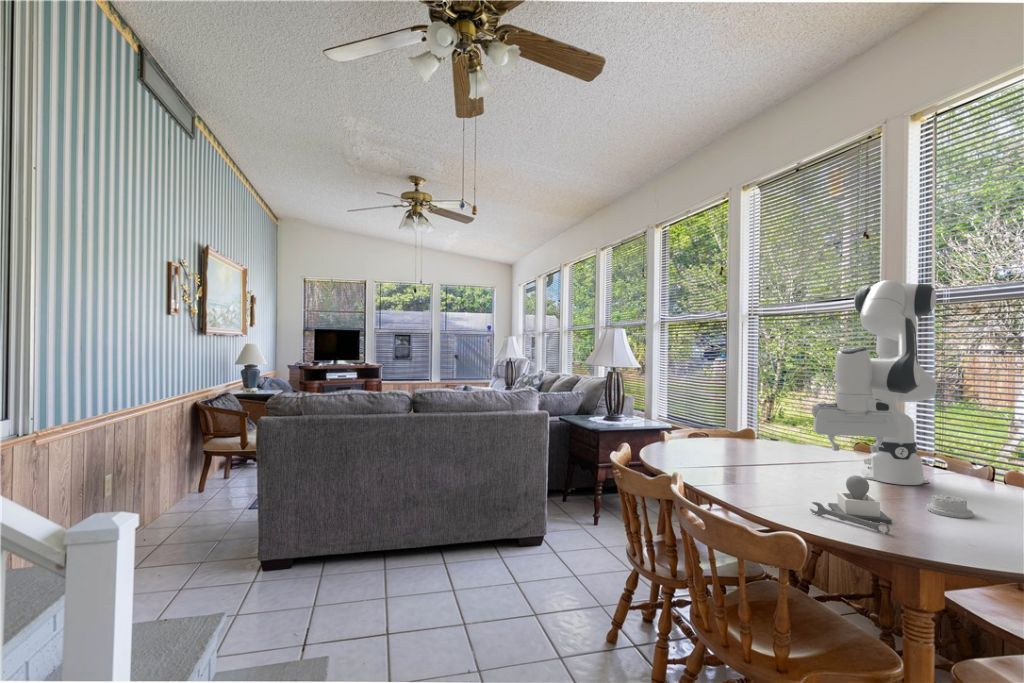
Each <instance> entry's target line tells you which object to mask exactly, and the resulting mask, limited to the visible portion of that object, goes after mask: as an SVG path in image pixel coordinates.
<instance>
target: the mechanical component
mask: <svg viewBox="0 0 1024 683" xmlns="http://www.w3.org/2000/svg"><path fill="white" fill-rule="evenodd" d="M967 502H968V500H966V499H964V498H961V497H957V496H953V495H948V494H947V495H946V494H945V495H944V494H936V495H935V494H934V495H931V503H927V504H926V510H927V511H928V510H929V511H928V512H930V511H931V512H930V513H933V514H937V515H939V516H945V517H950V518H958V519H959V518H960V519H970V518H973V517H974V511H973V510H972V509H970V508H968V503H967Z"/></svg>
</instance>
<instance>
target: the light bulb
mask: <svg viewBox="0 0 1024 683" xmlns="http://www.w3.org/2000/svg"><path fill="white" fill-rule="evenodd" d="M845 486H846V489H847V492H848V493H850V494H851V495H852V497H853V500H863V498H864V497H865V495H866V494H868V492H869V490H870V484H869V481H867V479H866V478H864V476H861V475H851V476H849V477H848V478H846V482H845Z"/></svg>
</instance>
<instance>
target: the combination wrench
mask: <svg viewBox="0 0 1024 683" xmlns="http://www.w3.org/2000/svg"><path fill="white" fill-rule="evenodd" d="M811 504H813V505H814V506H816V507H817V510H815V509H812V508H809V510H810V512H812V513H815V514H818V515H817V516H819V515H820V516H823V515H827V516H830V517H834V518H836V519H839V520H843V521H846V522H849V523H853V524H856V525H859V526H862V527H866V528H868V529H872V530H874V531H876V532H878V533H879V532H882V533H881V534H884V533H886V534H885V535H888V534H889V533H890V532H891V529H890V526H889V524H888V523H882V522H881V523H878V522H870V521H866V520H863V519H859V518H856V517H852V516H849V515H845V514H841V513H838V512H834V511H832V510H831V509H827V508H826V507H825V506H824V505H823V504H822V503H821V502H817V501H812V502H811ZM815 514H814V515H815ZM880 525H883V526H884V527H886V529H887V530H886V532H884V531H882V530H880ZM883 532H884V533H883Z"/></svg>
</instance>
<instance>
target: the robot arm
mask: <svg viewBox="0 0 1024 683" xmlns="http://www.w3.org/2000/svg"><path fill="white" fill-rule="evenodd" d="M937 300H938V297H937V293H936V291H935V288H934V287H933V286H932V285H930V284H926V283H918V284H917V283H916V284H915V283H905V282H903V283H902V282H898V281H896V280H891V279H887V280H881V281H878V282H877V283H875V284H874V285H873V284H866V285H863V286H861V287H859V288H858V289H857V291H856V292H855V295H854V298H853V302H854V303H853V304H854V307H855V310H856V311H857V312H858V313H859V314H860V315H859V319H860V320H859V321H860V323H861V325H862V327H863V328H864V329H865V330H866V331H867V332H869V333H870V334H872V335H874V336H876V346H875V353H876V354H877V356H878V357H871V355H870V350H869V348H866V347H863V346H848V347H847V346H846V347H841V348H839V349H838V350H837V352H836V356H835V363H834V379H835V381H836V388H835V391H834V392H835V393H834V395H835V402H817V403H816V404H814V405H812V408H811V409H812V415H813V424H812V425H813V426H812V427H813V428H812V429H813V432H815V433H816V434H817V435H820V436H821V435H822V436H825V435H826V437H827V439H828V441H829V442H830V443H831V449H832V451H834V452H835V451H836V452H839V451H840V444H838V443H836V442H835V439H836V438H835V437H836V436H843V437H844V436H845V437H846V436H847V437H849V436H850V437H868V438H869V437H871V438H874V439H873V440H874V441H873V445H872V444H871V445H869V446H870V450H869V451H870V452H871V453H870V454H869V455H868V457H867V458H866V457H865V458H864V459H863V463H864V465H867V467H861V473H862V475H863V478H865V479H866V480H867V479H868V480H873V481H878V482H881V483H886V484H887V483H888V484H894V485H901V486H919V485H922V484H927V483H928V482H929V483H930V481H929V478H926V477H924V476H925V475H924V467H923V460H922V458H921V457H920V456H918V454H917V452H918V451H917V449H918V445H917V441H915V440H916V439H915V422H914V420H913V418H912V417H911V416H909V415H908V414H906V413H903V412H901V411H900V410H899V409H898V407H897V403H917V402H922V401H927V400H931V399H933V398H934V396H935V395H936V393H937V390H938V384H937V382H936V381H937V380H936V379H935V378H934V376H932V375H931V374H930V373H928V372H927V371H926V370H925V369H923V367H922V366H921V365H920V362H919V360H918V344H917V343H918V342H917V341H918V340H917V336H918V335H917V333H918V328H917V327H918V324H917V323H918V322H917V318H918V319H920V318H922V316H927V315H928V314H930V313H931V312H932V311H933V310H934V308H935V307H936V304H937Z"/></svg>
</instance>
